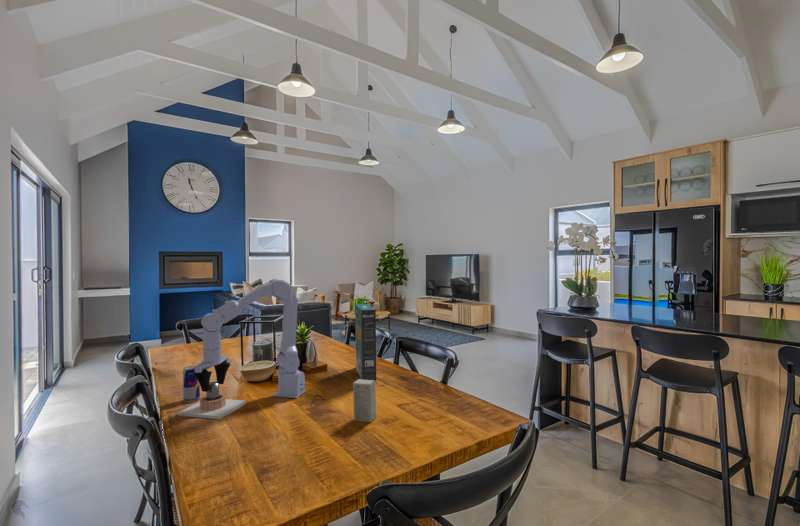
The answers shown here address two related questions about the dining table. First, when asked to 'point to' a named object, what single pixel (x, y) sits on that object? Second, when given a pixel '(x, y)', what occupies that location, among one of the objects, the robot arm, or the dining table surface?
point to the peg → (213, 391)
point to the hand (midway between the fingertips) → (213, 387)
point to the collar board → (212, 413)
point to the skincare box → (364, 400)
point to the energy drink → (190, 385)
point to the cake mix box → (365, 341)
